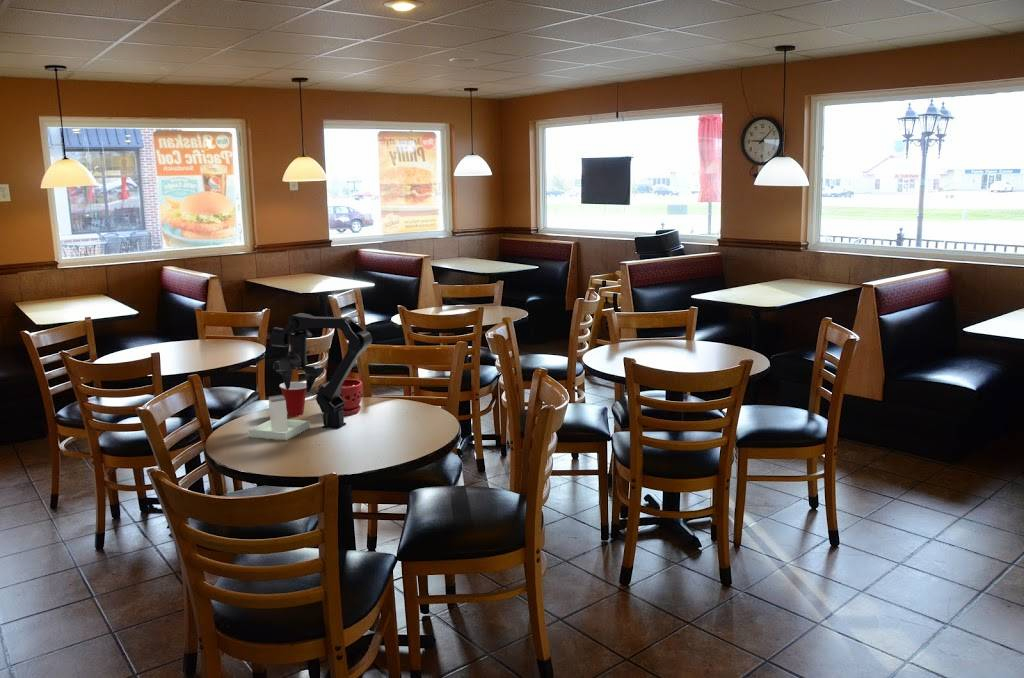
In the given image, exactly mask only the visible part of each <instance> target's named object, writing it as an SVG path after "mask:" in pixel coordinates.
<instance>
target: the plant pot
mask: <svg viewBox="0 0 1024 678" xmlns="http://www.w3.org/2000/svg"><path fill="white" fill-rule="evenodd" d="M340 397H341V398H342V399H343V400H344V401H345V406H344V407H343V408H341V409H343V416H347V415H348V416H350V415H354V414H357V413H358V412H360V410H361V408H362V407H361V401H362V399H363V398H362V397H363V381H361V380H359V379H356V378H355V379H354V378H346V379H345V381H344V382H343V384H342V386H341V393H340Z"/></svg>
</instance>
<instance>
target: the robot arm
mask: <svg viewBox="0 0 1024 678" xmlns="http://www.w3.org/2000/svg"><path fill="white" fill-rule="evenodd" d="M286 322H287V323H286V325H285V326H284V327H283V328H282V327H273V328H272V331H271V333H270V335H269V338H268V339H269V341H268V342H269V343H270V346H272V347H279V348H280V347H283V348H288V347H289V350H288V351H287V355H286V356H285V357H283V358H281V359H280V360H276V361H274V362H273V364H272V369H273V370H275V372H277V373H278V374H279V375H280V376H281V378H282V380H283V383H285V386H286V389H289V388H290V382H292V381H291V379H292V373H293V370H297V371H303V372H304V373H305V374H304V377H305V380H306V381H305V383H306V393H310V391H311V389H312V387H313V386H314V384H315V381H316V380H317V378H318V376H320V375H321V374H324V367H323V365H321V364H315V363H314V364H309V363H310V362H309V361H307V355H308V354H310V351H309V350H307V343H308V342H307V341H308V340H307V339H308V338H310V337H313V334H312V332H310V330H309V329H338V330H340V331H341V332H342V334H343V336H344V338H345V339H346V340H347V341H348V342H347V348H346V352H345V355H344V357H343V358H342V360H341V362H340V363H339V365H338V367H337V369H335V372H334V374H333V376H332V377H331V379H330V380H329V381H327V382H324V383H323V384H321V385H320V387H319V389H318V391H317V392H316V393H315V395H316V397H315V400H316V403H317V405H318V406H319V409H320V411H321V413H323V414H322V423H323V425H322V427H321V428H322V429H336V430H337V429H340V428H342V427H344V426H345V425H347V422H345V421H344V420H345V419H344V415H343V409H341V408H343V407H344V406H345V401H344V400H343V399H342V398H341V397H340V393H341V386H342V384H343V382H344V381H345V379H347V377H348V375H349V374H350V372H351V370H352V368H353V367H354V365H355V364H356V362H357V360H358V358H359V357H360V356H361V355H362V354H363V353H364V352H365V351H366V350H367V349H368V347H370V345H371V344H372V343H373V338H372V334H371V333H370V332H369V331H367V330H365V328H364V327H363V326H361V325H359V324H358V323H357V322H355V321H354V320H353V319H352V318H351V317H349V316H315V315H312V314H310V313H303V312H300V313H296V314H292V315H290V316H289V317H288V318H287V321H286ZM293 332H294V333H293ZM342 387H343V386H342Z"/></svg>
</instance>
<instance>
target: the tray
mask: <svg viewBox="0 0 1024 678" xmlns="http://www.w3.org/2000/svg"><path fill="white" fill-rule="evenodd" d="M287 422H288V431H286V432H276V431H271V422H270V419H269V420H267V421H265V422H263V423H261V424H259V425H256V426H255V427H252V428H250V429H249V430H248V437H251V438H250V439H258V438H265V439H264V440H270V439H275V440H274V441H282V440H287V441H288V439H289V440H290V438H291V439H293V438H294V437H296V436H298V435H300V434H302V433H303V431H304V432H305V430H306V431H307V429H308V430H309V428H310V427H311V426H310V420H299V419H288V418H287ZM301 432H302V433H301ZM299 433H300V434H299ZM297 434H298V435H297ZM292 437H293V438H292Z"/></svg>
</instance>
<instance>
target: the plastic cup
mask: <svg viewBox="0 0 1024 678" xmlns="http://www.w3.org/2000/svg"><path fill="white" fill-rule="evenodd" d="M279 388H280V391H281V395H283V396H284V397H285V400H286V410H287V416H289V417H299V415H300V416H302V415H304V411H305V402H306V394H307V390H306V382H303V381H291V382H290V388H289V389H286V386H285V383H284V382H283V383H280V384H279Z"/></svg>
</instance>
